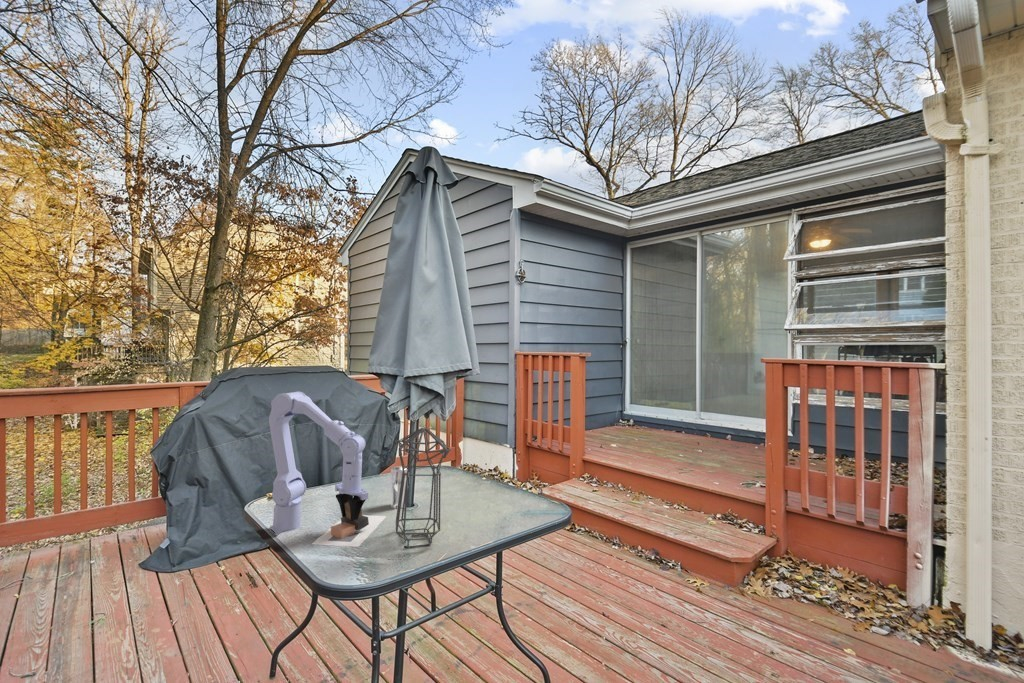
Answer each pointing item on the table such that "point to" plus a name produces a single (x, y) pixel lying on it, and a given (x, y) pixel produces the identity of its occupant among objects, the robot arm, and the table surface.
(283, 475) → the robot arm
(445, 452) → the geometric lantern
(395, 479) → the beer glass
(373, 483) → the table surface
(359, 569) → the table surface
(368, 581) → the table surface
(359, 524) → the brown block stamp
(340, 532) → the tile
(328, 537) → the board
